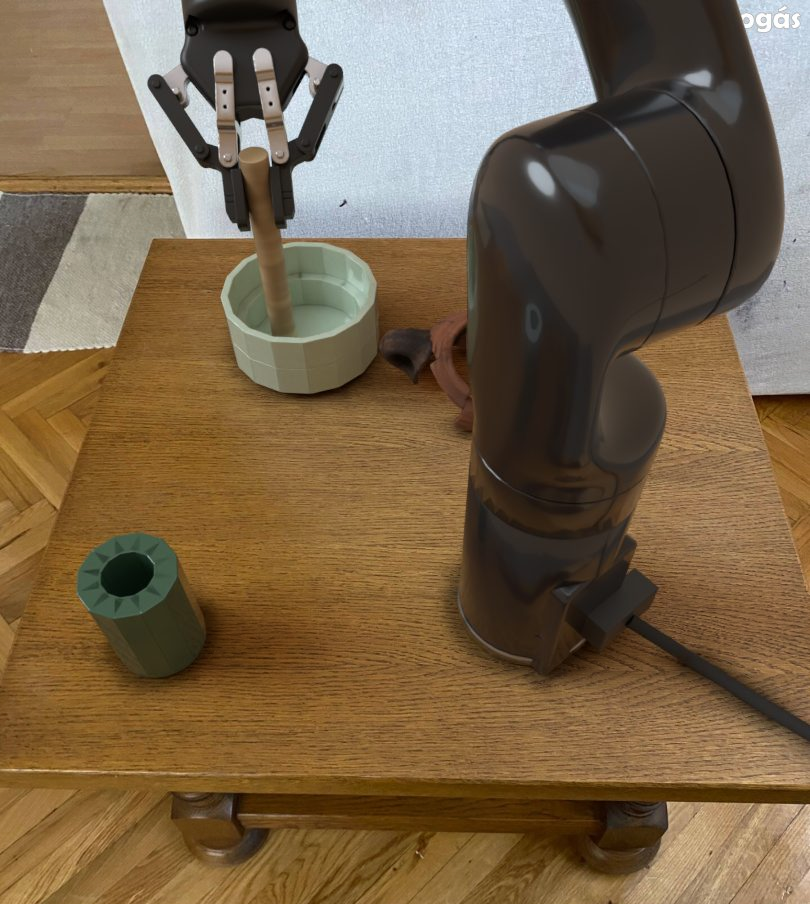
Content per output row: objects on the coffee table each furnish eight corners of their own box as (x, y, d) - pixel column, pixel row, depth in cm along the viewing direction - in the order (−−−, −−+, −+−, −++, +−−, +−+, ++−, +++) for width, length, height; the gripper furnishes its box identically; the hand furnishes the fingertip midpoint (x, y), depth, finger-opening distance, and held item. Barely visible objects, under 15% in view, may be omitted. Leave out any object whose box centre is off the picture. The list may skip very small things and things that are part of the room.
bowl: (408, 351, 70) (407, 293, 65) (292, 421, 65) (281, 365, 60) (320, 281, 75) (314, 223, 70) (207, 342, 70) (192, 285, 65)
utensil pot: (223, 641, 54) (196, 577, 48) (146, 695, 52) (107, 636, 45) (176, 585, 57) (145, 516, 50) (101, 634, 55) (58, 569, 48)
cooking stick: (302, 339, 68) (274, 154, 55) (282, 350, 67) (249, 166, 54) (287, 327, 69) (256, 142, 55) (268, 338, 68) (232, 153, 55)
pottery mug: (510, 343, 71) (548, 305, 63) (502, 450, 69) (541, 425, 61) (373, 319, 68) (395, 276, 60) (363, 430, 67) (384, 401, 59)
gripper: (110, -76, 50) (149, 224, 53) (337, -88, 50) (362, 209, 53) (142, -15, 57) (174, 245, 60) (340, -27, 58) (362, 231, 61)
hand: (263, 227), depth 57 cm, fingers closed on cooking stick, 2 cm apart
